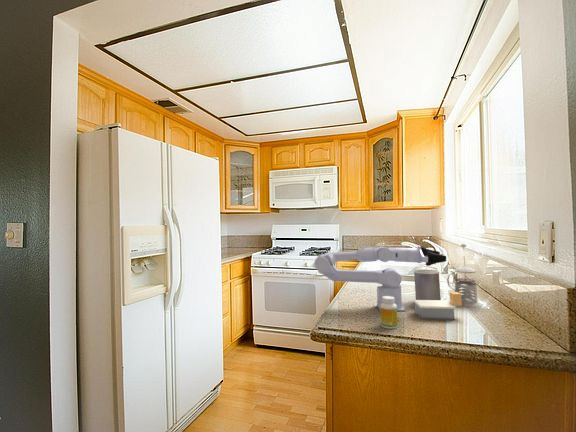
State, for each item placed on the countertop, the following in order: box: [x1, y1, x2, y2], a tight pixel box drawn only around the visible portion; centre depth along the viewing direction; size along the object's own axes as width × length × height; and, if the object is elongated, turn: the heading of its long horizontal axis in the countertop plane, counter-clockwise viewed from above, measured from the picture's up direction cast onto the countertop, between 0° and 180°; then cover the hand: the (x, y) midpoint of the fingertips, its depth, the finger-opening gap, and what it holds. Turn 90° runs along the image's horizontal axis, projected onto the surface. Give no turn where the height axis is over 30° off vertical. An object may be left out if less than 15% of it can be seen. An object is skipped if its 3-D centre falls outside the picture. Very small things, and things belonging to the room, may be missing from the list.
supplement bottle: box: [379, 296, 399, 330], centre depth 96 cm, size 5×5×10 cm
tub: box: [414, 302, 456, 321], centre depth 105 cm, size 11×8×4 cm
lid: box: [413, 291, 463, 310], centre depth 105 cm, size 15×9×4 cm, turn 81°
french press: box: [446, 243, 481, 307], centre depth 121 cm, size 10×12×25 cm
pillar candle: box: [413, 268, 442, 300], centre depth 121 cm, size 10×10×15 cm
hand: (442, 256), depth 113 cm, fingers open, 7 cm apart
